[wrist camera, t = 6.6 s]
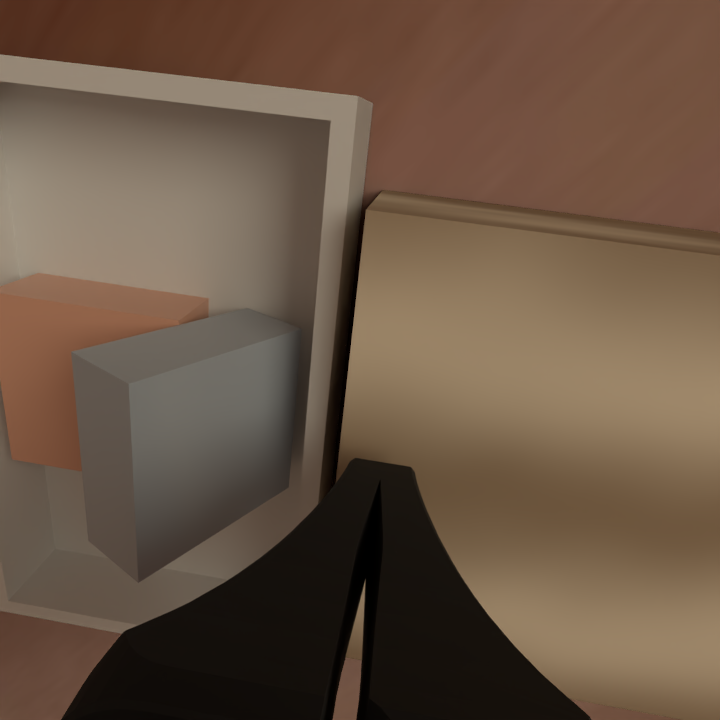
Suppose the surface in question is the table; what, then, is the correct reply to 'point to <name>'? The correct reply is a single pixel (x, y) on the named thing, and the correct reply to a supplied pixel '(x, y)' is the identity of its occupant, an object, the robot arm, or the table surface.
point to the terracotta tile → (67, 352)
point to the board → (555, 431)
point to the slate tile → (183, 432)
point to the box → (175, 283)
